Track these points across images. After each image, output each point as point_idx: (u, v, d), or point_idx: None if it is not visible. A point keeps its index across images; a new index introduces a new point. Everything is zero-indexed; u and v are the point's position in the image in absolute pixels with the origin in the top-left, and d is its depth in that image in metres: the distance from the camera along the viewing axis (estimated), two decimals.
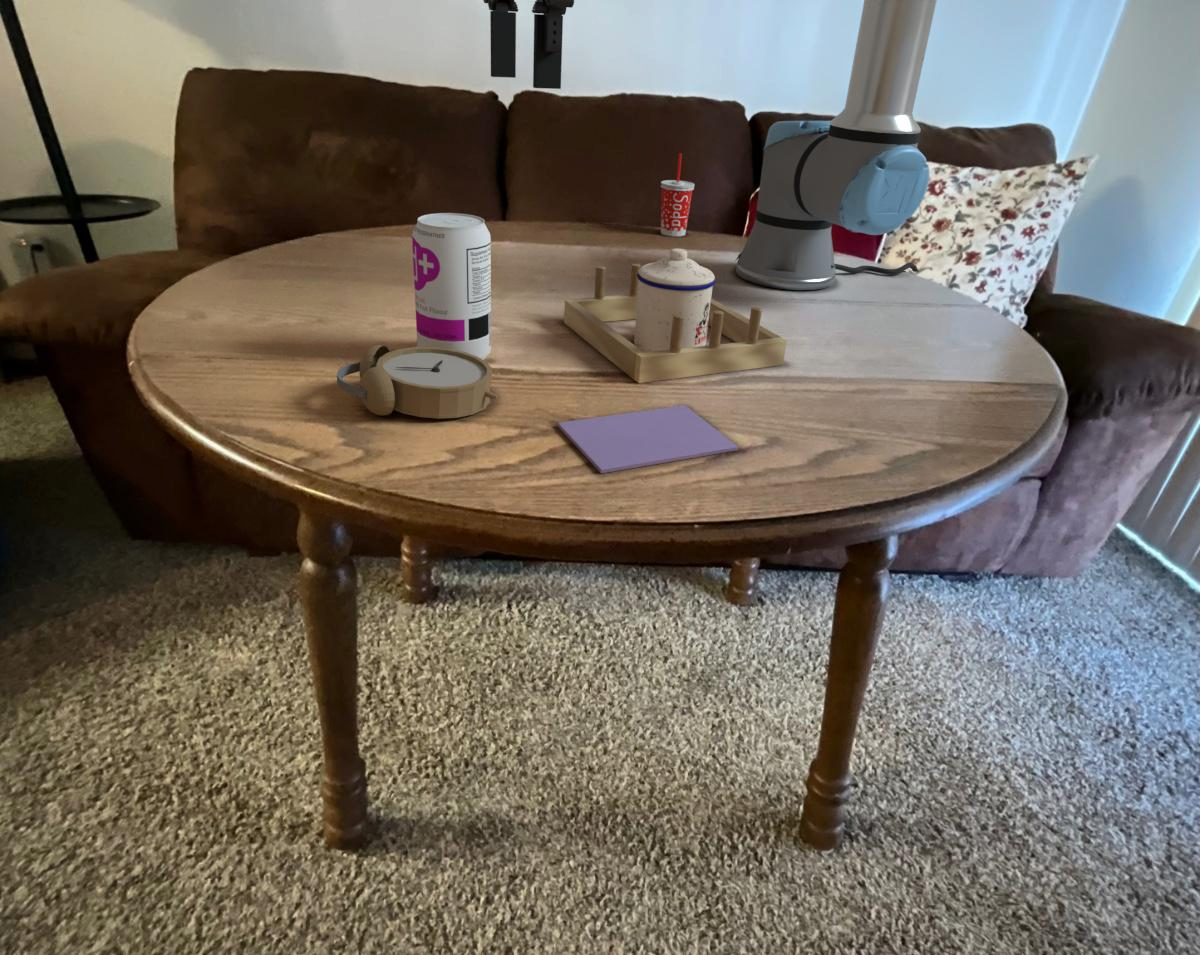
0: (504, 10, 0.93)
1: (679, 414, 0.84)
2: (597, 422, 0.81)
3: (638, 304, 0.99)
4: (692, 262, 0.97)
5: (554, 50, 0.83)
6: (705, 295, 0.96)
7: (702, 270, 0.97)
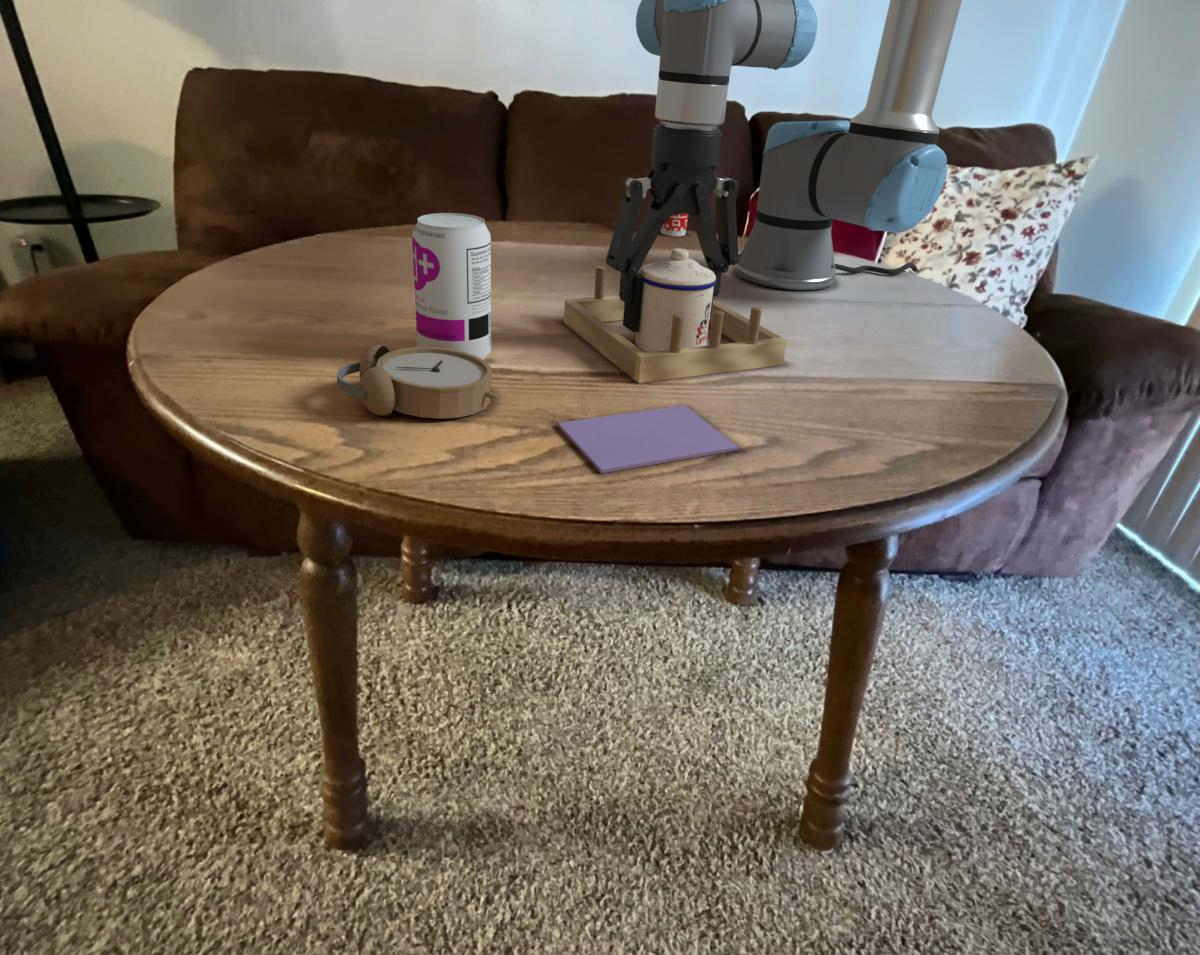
0: (711, 268, 1.01)
1: (679, 414, 0.84)
2: (597, 422, 0.81)
3: None
4: (693, 262, 0.97)
5: (623, 300, 0.98)
6: (706, 295, 0.96)
7: (703, 270, 0.97)
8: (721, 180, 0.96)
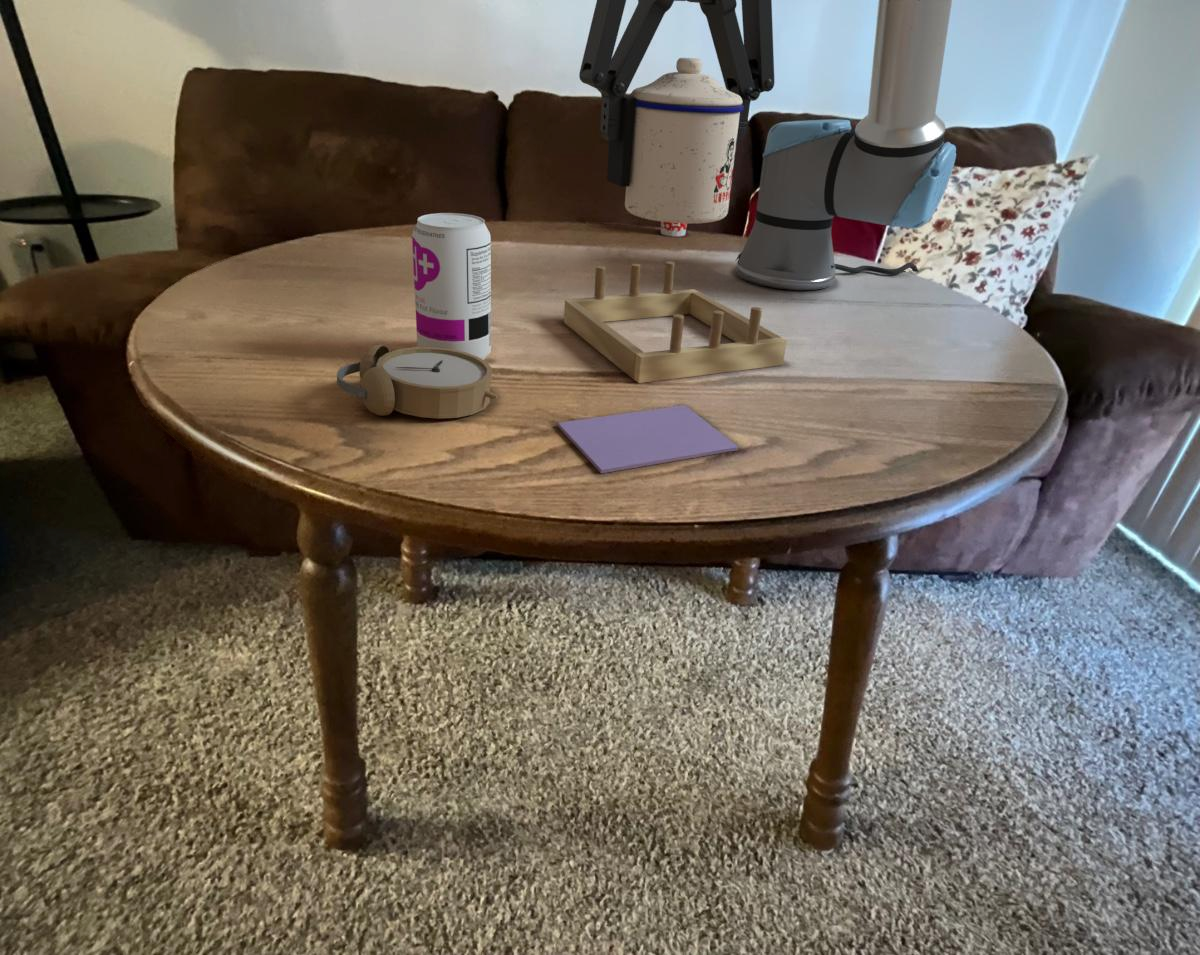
0: None
1: (679, 414, 0.84)
2: (597, 422, 0.81)
3: None
4: (710, 77, 0.65)
5: (606, 138, 0.66)
6: (729, 124, 0.65)
7: (724, 89, 0.65)
8: None
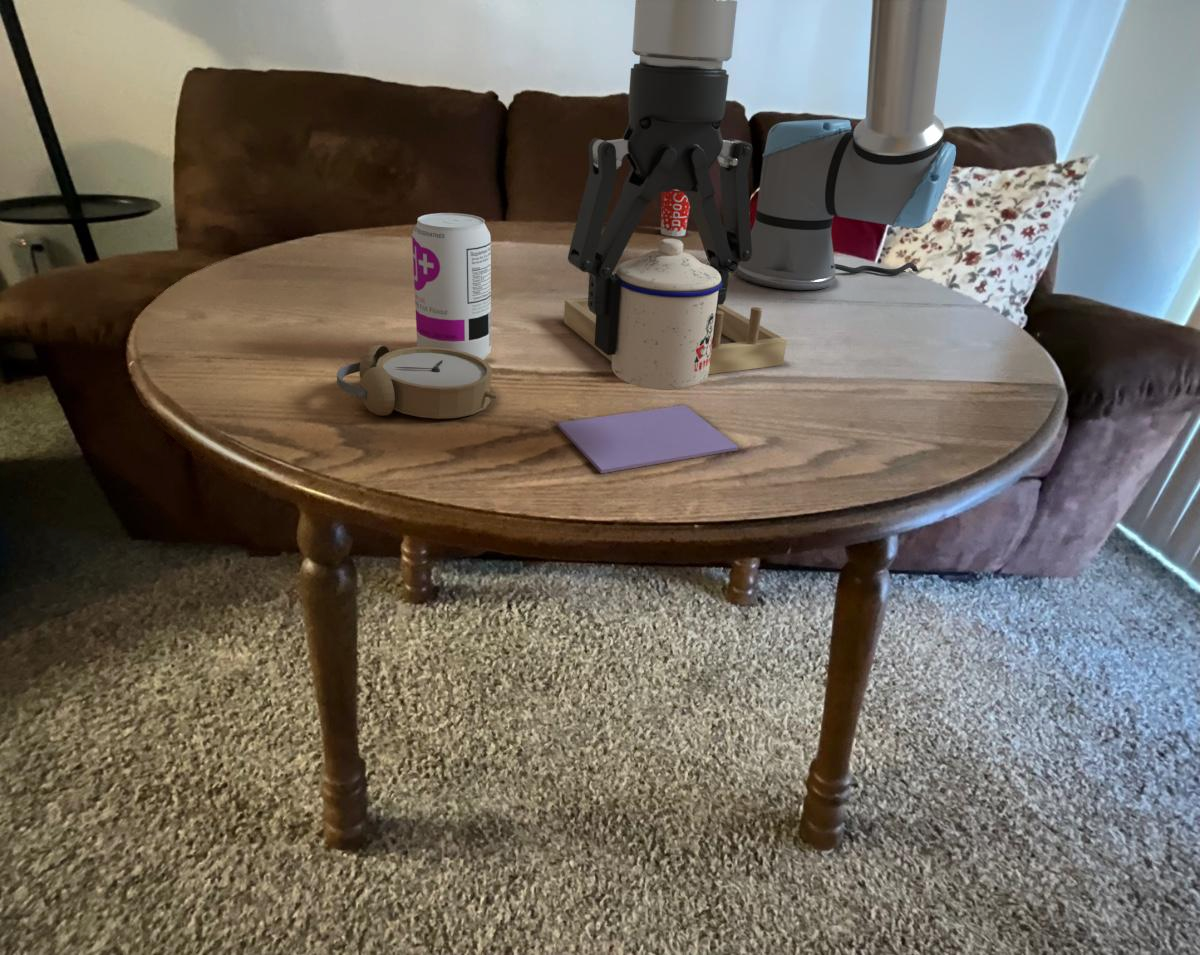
0: (714, 265, 0.74)
1: (679, 414, 0.84)
2: (597, 422, 0.81)
3: None
4: (690, 257, 0.70)
5: (593, 312, 0.71)
6: (708, 303, 0.69)
7: (704, 268, 0.70)
8: (727, 143, 0.69)
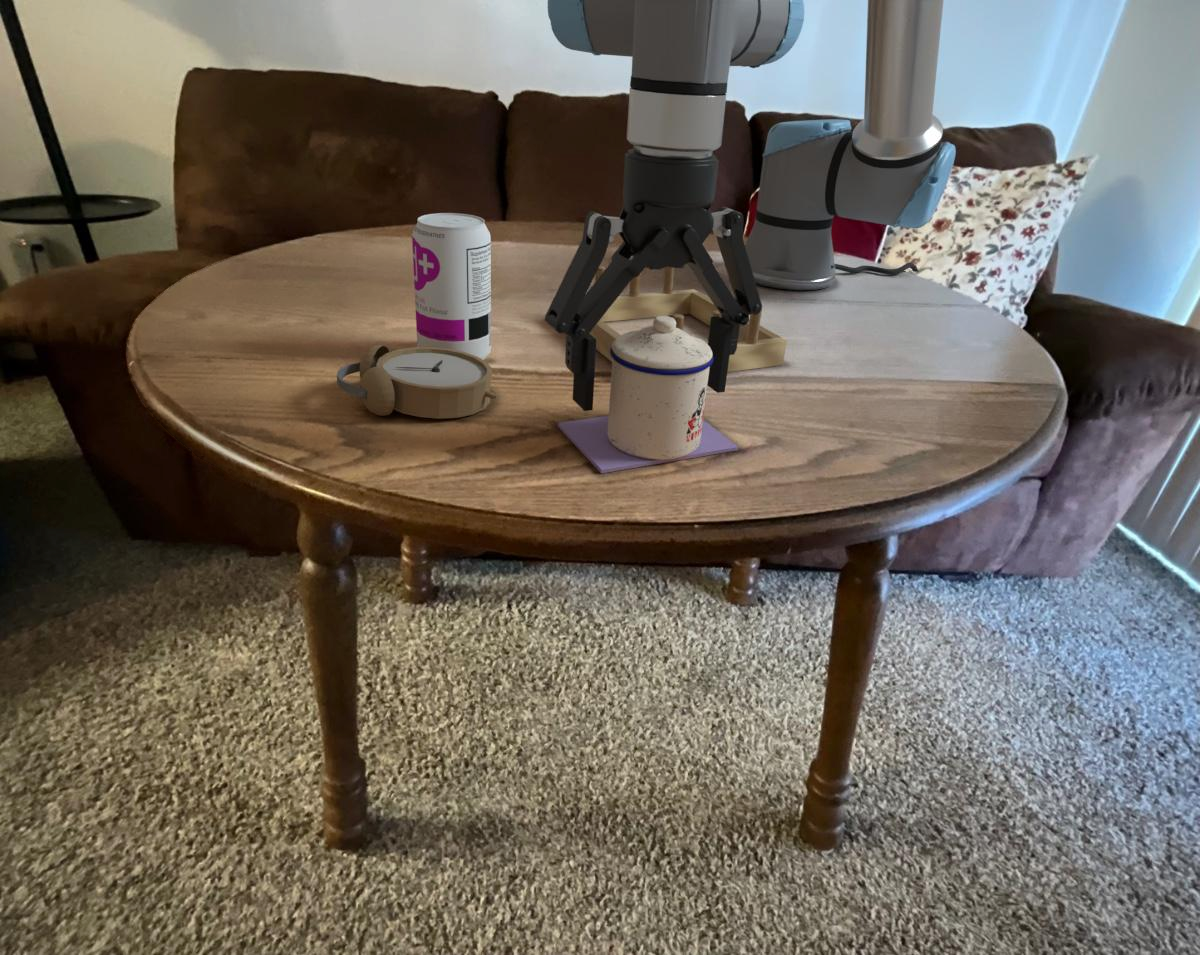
0: (727, 320, 0.77)
1: None
2: (597, 422, 0.81)
3: (612, 388, 0.75)
4: (683, 335, 0.73)
5: (570, 370, 0.73)
6: (700, 379, 0.72)
7: (696, 345, 0.73)
8: (718, 216, 0.71)
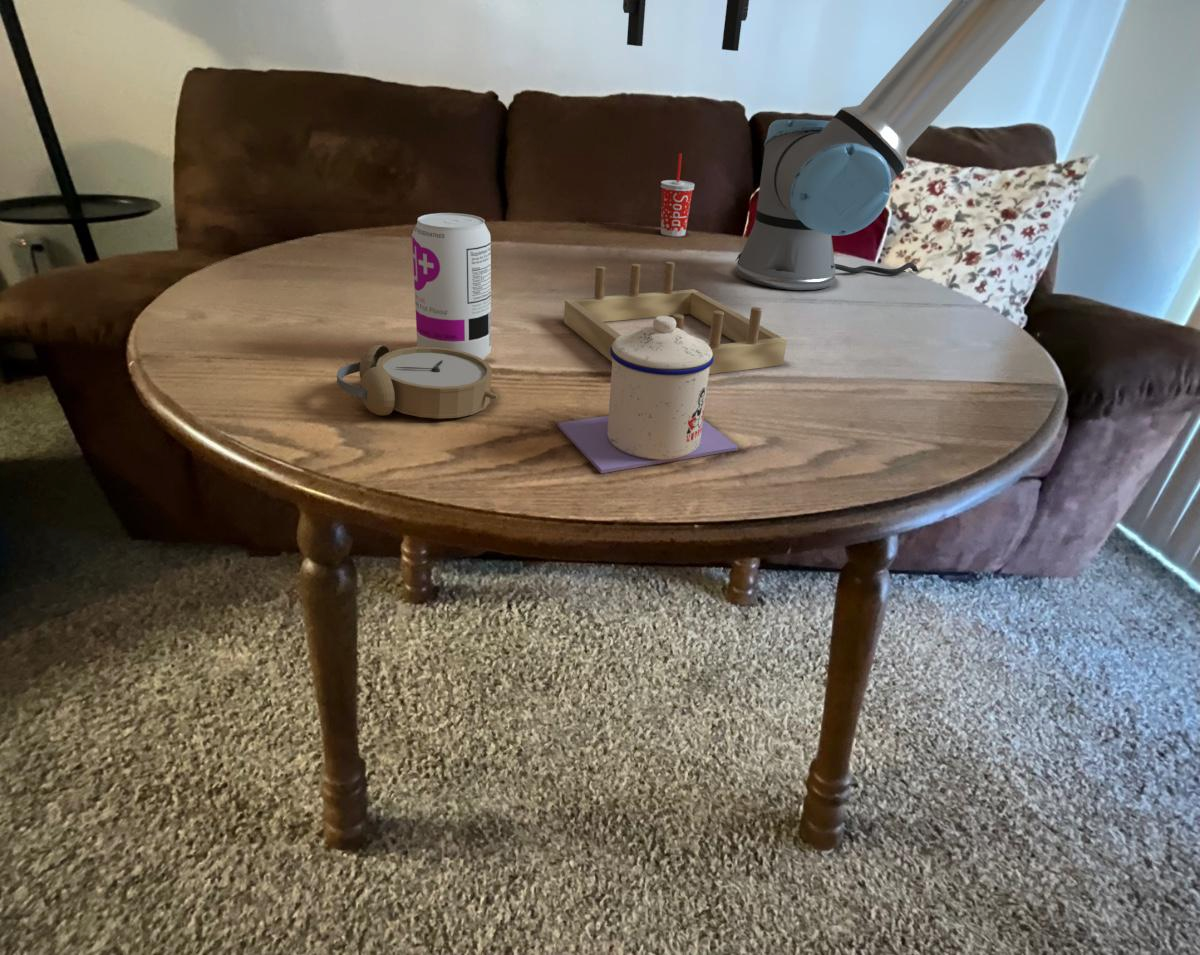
0: None
1: None
2: (597, 422, 0.81)
3: (612, 388, 0.75)
4: (683, 335, 0.73)
5: (626, 12, 1.00)
6: (700, 379, 0.73)
7: (696, 345, 0.73)
8: None
